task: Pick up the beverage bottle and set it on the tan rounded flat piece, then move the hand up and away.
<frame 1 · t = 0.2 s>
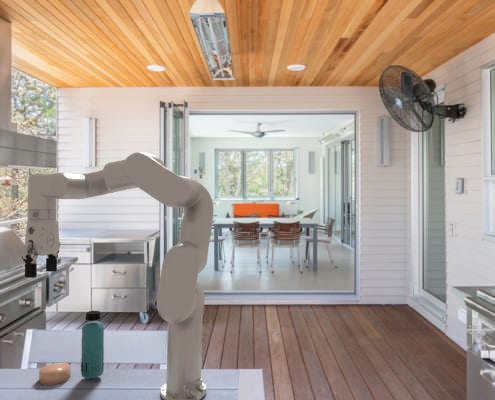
hand: (41, 274, 118), 31 cm above the table, tool pointing down, fingers open, 9 cm apart
tan rounded flat piece: (54, 378, 119), on the table
beverage bottle: (92, 379, 119), on the table
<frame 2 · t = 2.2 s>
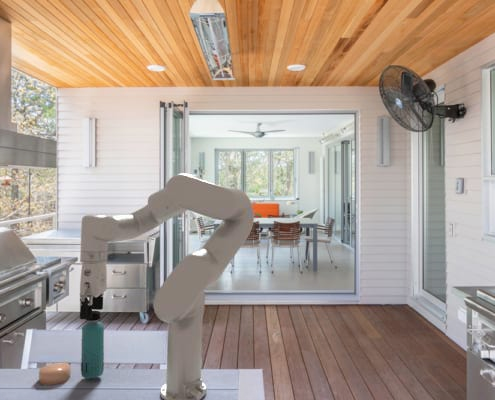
hand: (91, 314, 119), 19 cm above the table, tool pointing down, fingers open, 9 cm apart
nothing on the table moved.
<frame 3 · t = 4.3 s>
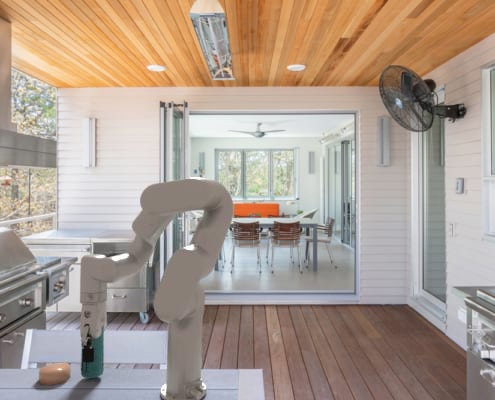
hand: (92, 356, 119), 7 cm above the table, tool pointing down, fingers closed on beverage bottle, 6 cm apart
beverage bottle: (92, 379, 119), on the table, touching gripper
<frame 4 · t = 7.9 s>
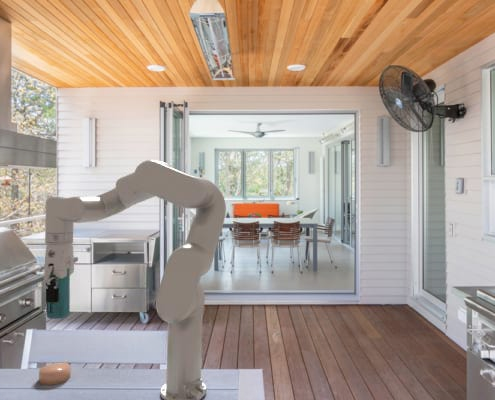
hand: (58, 298, 119), 24 cm above the table, tool pointing down, fingers closed on beverage bottle, 6 cm apart
beverage bottle: (57, 321, 119), point 17 cm above the table, touching gripper
when the fingers open (11 cm above the table, at t = 11.9 s): beverage bottle drops 1 cm, resting on tan rounded flat piece.
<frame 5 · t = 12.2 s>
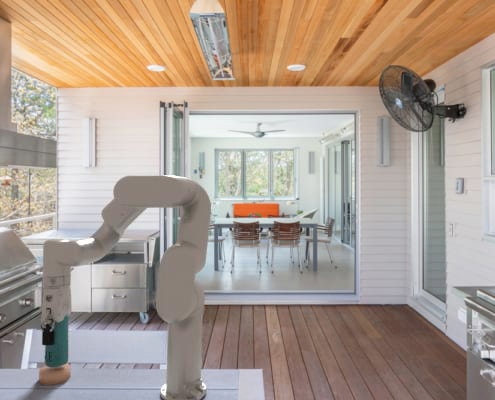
hand: (55, 338, 119), 12 cm above the table, tool pointing down, fingers open, 9 cm apart
beverage bottle: (56, 368, 119), point 3 cm above the table, touching tan rounded flat piece
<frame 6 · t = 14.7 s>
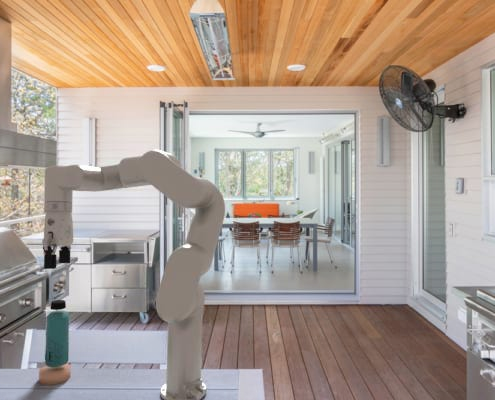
hand: (57, 265, 118), 33 cm above the table, tool pointing down, fingers open, 9 cm apart
nothing on the table moved.
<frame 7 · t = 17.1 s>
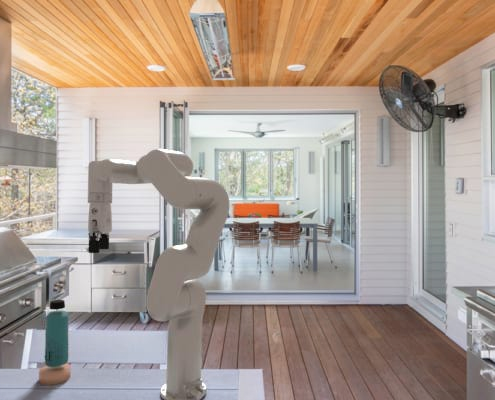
hand: (99, 250, 131), 36 cm above the table, tool pointing down, fingers open, 9 cm apart
nothing on the table moved.
at the end: beverage bottle 0.3 cm off-centre on the tan rounded flat piece, point 2.8 cm above the tan rounded flat piece's base; beverage bottle tilted 1°; the gripper is holding nothing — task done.
